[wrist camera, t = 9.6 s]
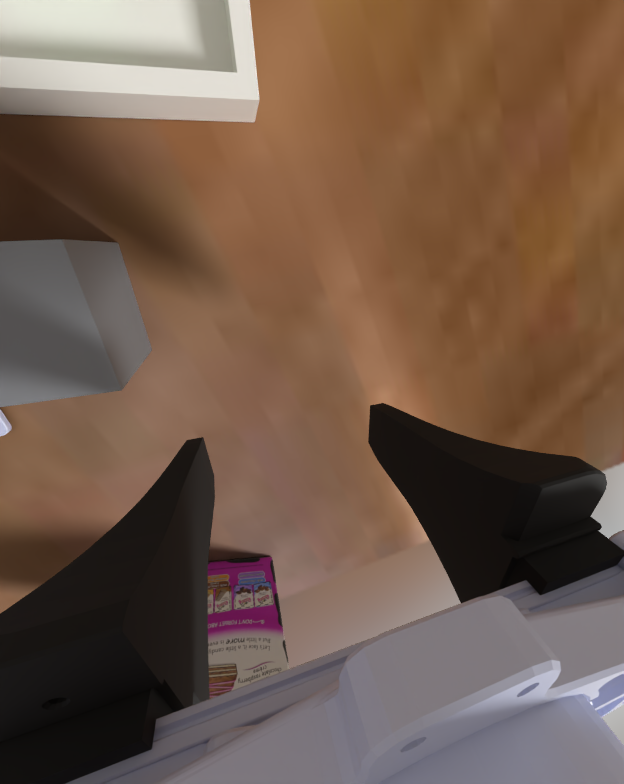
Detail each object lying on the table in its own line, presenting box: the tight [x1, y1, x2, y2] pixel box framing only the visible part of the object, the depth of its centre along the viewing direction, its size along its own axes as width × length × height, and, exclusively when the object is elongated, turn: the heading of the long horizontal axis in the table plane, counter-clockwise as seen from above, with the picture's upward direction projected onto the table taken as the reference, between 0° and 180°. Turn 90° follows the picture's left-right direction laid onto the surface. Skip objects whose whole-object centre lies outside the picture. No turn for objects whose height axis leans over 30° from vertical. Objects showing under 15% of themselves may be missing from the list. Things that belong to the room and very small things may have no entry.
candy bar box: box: [208, 557, 289, 699], centre depth 22 cm, size 11×5×16 cm, turn 75°
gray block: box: [0, 239, 152, 407], centre depth 13 cm, size 6×6×6 cm
